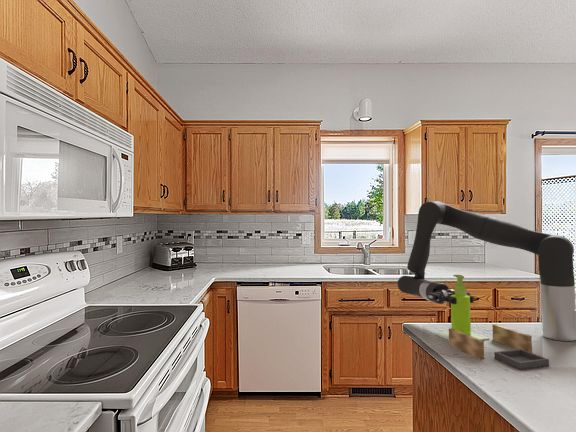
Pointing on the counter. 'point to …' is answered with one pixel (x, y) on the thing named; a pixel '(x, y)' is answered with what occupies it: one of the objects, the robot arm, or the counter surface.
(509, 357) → the pit tray
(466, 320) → the soap dispenser
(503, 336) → the oak channel
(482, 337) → the mat
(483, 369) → the counter surface
